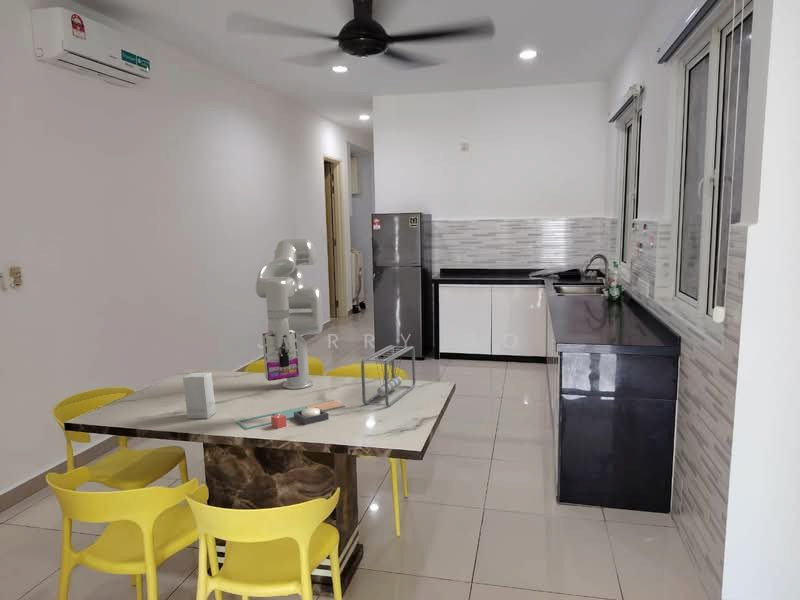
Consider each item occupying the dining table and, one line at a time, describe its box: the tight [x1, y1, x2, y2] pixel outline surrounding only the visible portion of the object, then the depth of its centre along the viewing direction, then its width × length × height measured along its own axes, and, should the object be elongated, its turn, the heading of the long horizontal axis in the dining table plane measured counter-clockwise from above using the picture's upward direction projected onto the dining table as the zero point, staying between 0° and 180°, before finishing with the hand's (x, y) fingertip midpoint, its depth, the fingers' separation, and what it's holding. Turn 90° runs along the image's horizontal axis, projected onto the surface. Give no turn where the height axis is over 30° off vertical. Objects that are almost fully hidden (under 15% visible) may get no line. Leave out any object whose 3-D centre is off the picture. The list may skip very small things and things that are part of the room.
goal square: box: [305, 400, 345, 411], centre depth 211 cm, size 8×12×1 cm, turn 125°
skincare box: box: [182, 372, 217, 419], centre depth 204 cm, size 8×7×16 cm
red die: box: [270, 414, 287, 430], centre depth 191 cm, size 4×4×4 cm
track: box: [235, 399, 346, 430], centre depth 204 cm, size 10×38×1 cm, turn 125°
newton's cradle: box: [360, 344, 416, 408], centre depth 222 cm, size 30×10×18 cm, turn 158°
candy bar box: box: [261, 330, 299, 382], centre depth 199 cm, size 11×5×16 cm, turn 116°
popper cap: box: [302, 408, 320, 417], centre depth 198 cm, size 6×6×2 cm
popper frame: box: [294, 407, 329, 426], centre depth 198 cm, size 9×9×2 cm
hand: (281, 364), depth 200 cm, fingers closed on candy bar box, 5 cm apart
